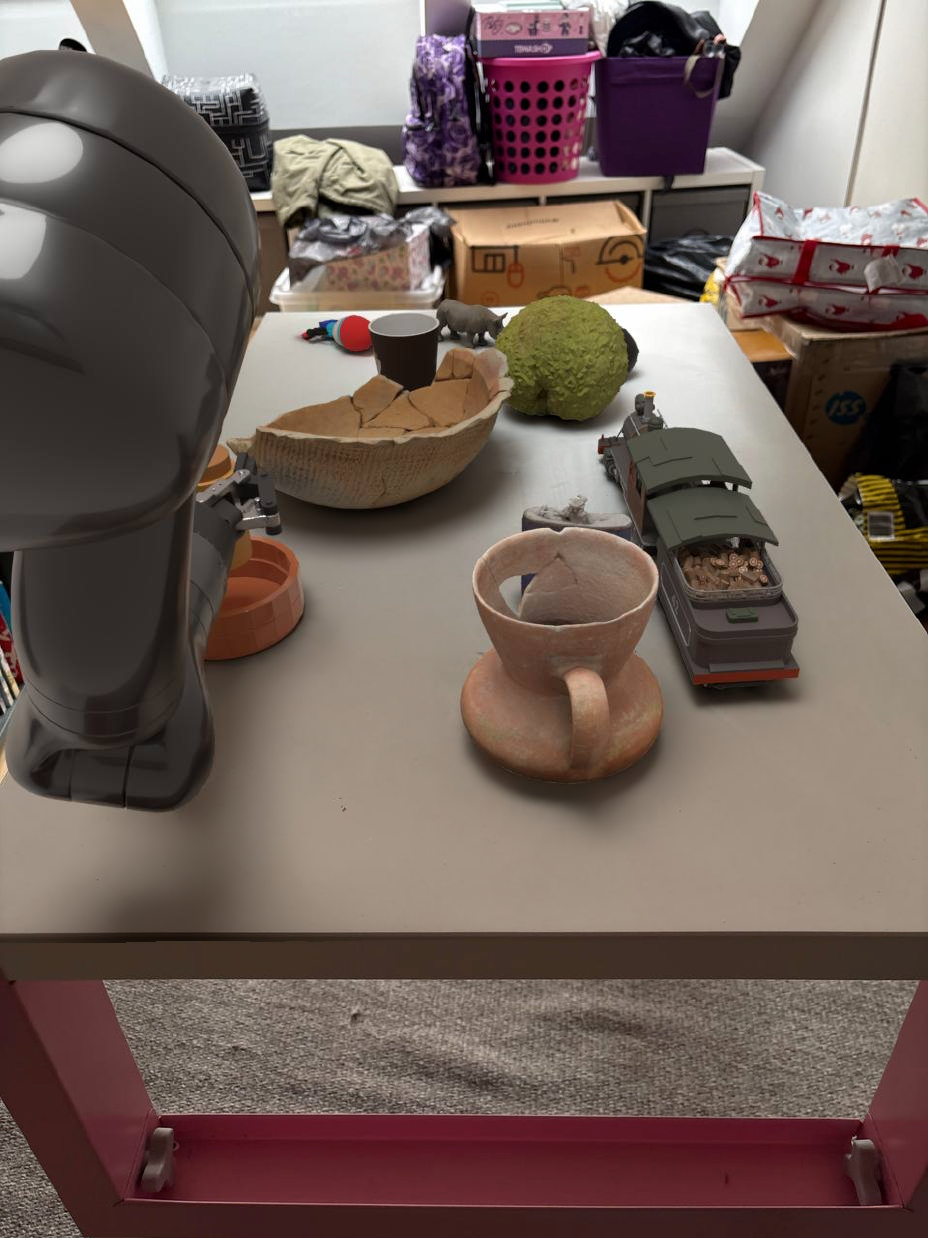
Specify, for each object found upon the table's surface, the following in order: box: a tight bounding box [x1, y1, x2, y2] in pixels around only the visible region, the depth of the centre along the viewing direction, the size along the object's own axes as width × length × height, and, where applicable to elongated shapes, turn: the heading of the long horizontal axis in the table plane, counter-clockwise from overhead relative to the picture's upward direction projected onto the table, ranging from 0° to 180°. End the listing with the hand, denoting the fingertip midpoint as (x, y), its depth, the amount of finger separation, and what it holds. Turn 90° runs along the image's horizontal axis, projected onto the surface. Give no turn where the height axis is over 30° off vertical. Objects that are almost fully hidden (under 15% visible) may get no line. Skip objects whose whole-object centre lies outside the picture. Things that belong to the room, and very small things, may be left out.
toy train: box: [597, 390, 801, 690], centre depth 88 cm, size 45×9×11 cm, turn 3°
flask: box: [520, 494, 634, 598], centre depth 81 cm, size 9×3×11 cm, turn 78°
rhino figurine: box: [435, 298, 509, 350], centre depth 136 cm, size 4×14×6 cm, turn 54°
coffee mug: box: [368, 312, 439, 392], centre depth 120 cm, size 12×9×10 cm
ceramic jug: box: [459, 527, 665, 785], centre depth 66 cm, size 18×14×14 cm
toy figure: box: [300, 314, 372, 352], centre depth 139 cm, size 8×5×15 cm
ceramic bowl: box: [225, 346, 515, 510], centre depth 100 cm, size 30×27×15 cm
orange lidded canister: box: [197, 443, 253, 570], centre depth 78 cm, size 6×6×9 cm
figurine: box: [621, 327, 640, 375], centre depth 130 cm, size 8×7×18 cm
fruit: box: [494, 294, 629, 422], centre depth 114 cm, size 16×14×15 cm
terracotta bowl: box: [204, 535, 305, 661], centre depth 83 cm, size 13×13×4 cm
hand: (207, 465), depth 79 cm, fingers closed on orange lidded canister, 5 cm apart
